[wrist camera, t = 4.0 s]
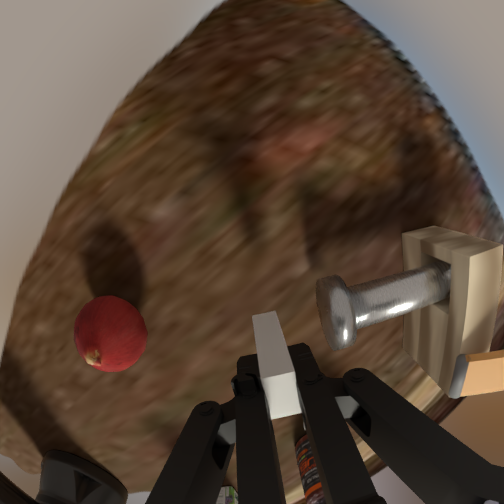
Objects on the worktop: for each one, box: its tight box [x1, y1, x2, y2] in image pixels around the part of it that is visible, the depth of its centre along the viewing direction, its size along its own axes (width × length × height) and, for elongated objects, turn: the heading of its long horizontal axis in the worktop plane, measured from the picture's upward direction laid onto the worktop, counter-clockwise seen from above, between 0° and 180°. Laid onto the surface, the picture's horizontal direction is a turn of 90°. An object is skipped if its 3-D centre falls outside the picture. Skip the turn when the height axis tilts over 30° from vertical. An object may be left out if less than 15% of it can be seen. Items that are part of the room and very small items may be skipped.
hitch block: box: [401, 226, 503, 397], centre depth 20 cm, size 4×12×9 cm, turn 11°
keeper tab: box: [448, 350, 504, 398], centre depth 14 cm, size 8×4×1 cm, turn 102°
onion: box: [74, 295, 148, 372], centre depth 19 cm, size 6×6×8 cm
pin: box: [316, 260, 451, 351], centre depth 19 cm, size 13×5×5 cm, turn 101°
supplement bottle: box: [295, 434, 326, 504], centre depth 23 cm, size 6×6×11 cm
